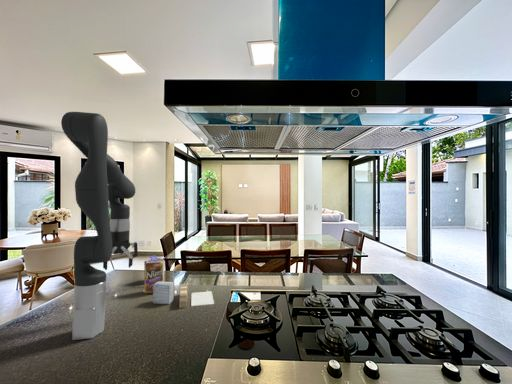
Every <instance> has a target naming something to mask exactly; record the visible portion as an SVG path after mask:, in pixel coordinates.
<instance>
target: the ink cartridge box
mask: <svg viewBox="0 0 512 384" xmlns="http://www.w3.org/2000/svg"><path fill="white" fill-rule="evenodd" d="M147 261H165V259H164V258H161V257H157V255H156V254H155V255H150V259H149V260H144V264H143V265H144V275H143V276H144V279H143V281H144V283H145V263H146V262H147Z"/></svg>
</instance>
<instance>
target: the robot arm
mask: <svg viewBox="0 0 512 384" xmlns="http://www.w3.org/2000/svg"><path fill="white" fill-rule="evenodd" d="M107 123H108V122H107V119H106V118H105V117H104V116H103V115H102V114H100V113H96V112H84V111H82V112H81V111H68V112H66V113H64V114H63V115H62V118H61V129H62V131H63V133H64V135H65V136H66V137H67V139H68V140H69V141H70V142H71V143H72V144H73V145H74V146H75V147H76V148H77V149H78V150H79V151H80V153H82V154H83V155H84V156H85V158H86V162H85V164H84V165H83V167H82V168H81V170H80V171H79V173H78V175H77V177H76V179H75V182H74V192H75V202H76V204H77V205H78V208H79V209H80V210H81V211H82V213H84V215H85V216H86V217H87V219H89V220H90V222H91V223H92V224H93V226H94V229H95V230H96V234H97V235H92V236H91V235H89V236H88V235H87V236H80V237H79V238H77V239H76V242H75V243H74V248H73V278H74V285H73V286H74V288H73V291H74V292H73V307H72V309H73V311H72V327H71V336H72V337H71V340H72V341H77V340H85V339H93V338H95V337H96V336H98V335H100V334H101V333H102V332H104V330H105V312H106V293H107V292H106V291H107V290H106V288H107V273H106V272H105V271H107V270H108V261H110V259H111V258H112V255H123V254H125V255H126V256H128V268H131V267H133V262H134V261H133V259H134V258H136V257H139V255H138V253H139V251H138V242H137V241H134V242H130V235H131V234H130V233H131V232H130V230H131V220H130V218H131V217H130V214H131V213H130V205H128V204H125V203H122V202H121V201H120V199H122V200H126V199H127V200H129V199H132V198H133V197H134V196H135V194H136V187H135V184H134V183H133V182H132V181H131V179H130V178H129V177H127V175H125V174H124V173H123V172H122V169H121V168H120V166H119V164H118V163H117V161H116V160H115V159H114V158H113V157H111V155H109V154H108V141H109V140H108V139H109V130H108V124H107ZM109 209H110V210H109ZM130 247H132V248H133V253H131V251H130V250H129V248H130ZM92 263H93V264H95V263H102V266H103V267H102V269H104V270H105V271H104V270H102V269H98V268H96V267H94V266H92V265H91V264H92ZM99 333H100V334H99Z"/></svg>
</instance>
